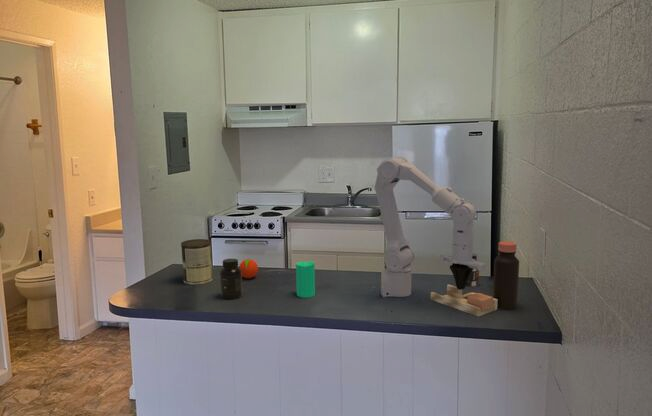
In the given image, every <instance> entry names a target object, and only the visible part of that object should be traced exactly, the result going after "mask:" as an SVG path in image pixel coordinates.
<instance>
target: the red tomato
mask: <svg viewBox="0 0 652 416" xmlns="http://www.w3.org/2000/svg"><path fill="white" fill-rule="evenodd" d="M238 267H239V268H240V269H241V271H242V278H244V279H252V278H254V277H256V275H257V274H258V271H259V266H258V263H257V262H256V260H253V259H250V258H246V259H244V260H242V261H241V262H240V264H239V265H238Z"/></svg>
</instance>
